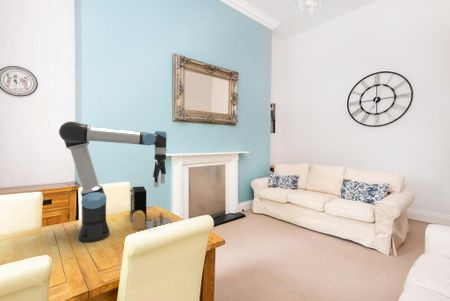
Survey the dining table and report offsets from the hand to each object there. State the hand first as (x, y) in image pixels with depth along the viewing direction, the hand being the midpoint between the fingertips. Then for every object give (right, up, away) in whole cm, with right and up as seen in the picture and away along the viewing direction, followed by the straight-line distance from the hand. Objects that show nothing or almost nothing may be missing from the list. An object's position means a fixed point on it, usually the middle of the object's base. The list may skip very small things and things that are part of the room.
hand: (159, 185), depth 157 cm
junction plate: (+2, -24, -8) cm, 25 cm away
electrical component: (-16, -23, +4) cm, 29 cm away
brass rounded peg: (+2, -24, -3) cm, 24 cm away
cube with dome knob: (-9, -24, -14) cm, 29 cm away
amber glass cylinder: (+1, -24, -12) cm, 27 cm away
